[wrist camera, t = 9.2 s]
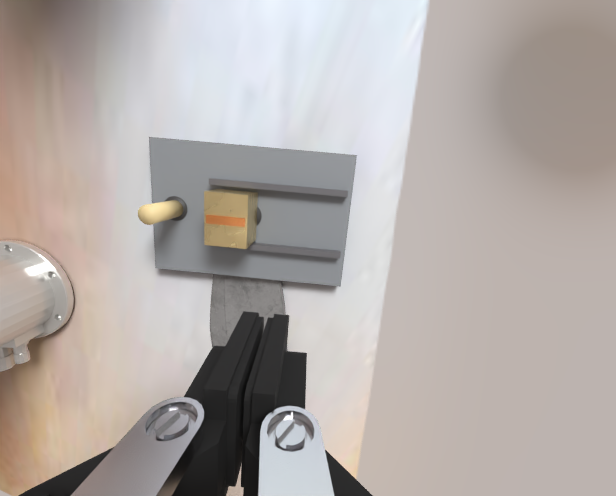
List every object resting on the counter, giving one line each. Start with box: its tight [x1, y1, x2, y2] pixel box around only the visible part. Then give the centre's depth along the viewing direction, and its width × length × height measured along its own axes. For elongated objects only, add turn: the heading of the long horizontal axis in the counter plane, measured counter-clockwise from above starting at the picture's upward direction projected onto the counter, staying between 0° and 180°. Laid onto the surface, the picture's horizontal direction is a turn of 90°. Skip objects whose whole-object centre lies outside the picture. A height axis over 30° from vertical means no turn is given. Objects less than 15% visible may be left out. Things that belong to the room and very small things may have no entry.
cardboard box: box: [204, 189, 258, 249], centre depth 28 cm, size 5×4×4 cm
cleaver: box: [210, 274, 287, 351], centre depth 36 cm, size 29×10×2 cm, turn 3°
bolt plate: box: [138, 137, 357, 286], centre depth 29 cm, size 14×21×6 cm, turn 85°
